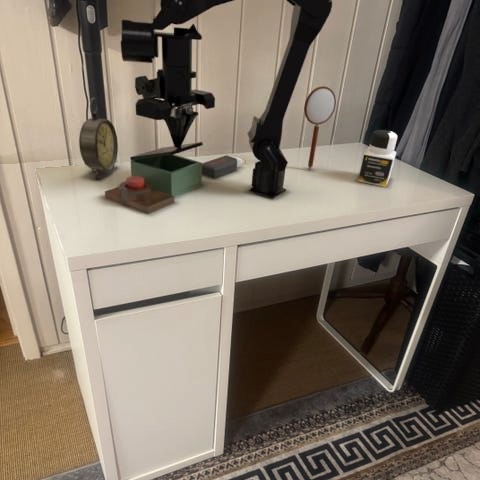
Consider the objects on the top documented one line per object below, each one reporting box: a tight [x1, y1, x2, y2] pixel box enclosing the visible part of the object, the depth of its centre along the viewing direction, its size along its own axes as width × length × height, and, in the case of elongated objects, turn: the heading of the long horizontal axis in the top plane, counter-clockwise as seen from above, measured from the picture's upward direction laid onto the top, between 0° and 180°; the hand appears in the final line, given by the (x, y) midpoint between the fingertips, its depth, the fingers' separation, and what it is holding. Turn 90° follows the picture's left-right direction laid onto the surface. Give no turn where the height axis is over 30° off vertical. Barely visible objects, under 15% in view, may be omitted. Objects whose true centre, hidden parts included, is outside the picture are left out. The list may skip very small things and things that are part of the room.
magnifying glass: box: [303, 86, 337, 171], centre depth 116 cm, size 9×2×20 cm, turn 113°
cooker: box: [130, 154, 203, 198], centre depth 104 cm, size 12×11×5 cm
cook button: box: [125, 175, 145, 190], centre depth 94 cm, size 4×4×2 cm
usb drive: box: [202, 154, 242, 180], centre depth 115 cm, size 5×12×3 cm, turn 144°
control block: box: [104, 180, 175, 215], centre depth 96 cm, size 12×8×4 cm
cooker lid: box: [130, 141, 204, 161], centre depth 101 cm, size 12×11×1 cm
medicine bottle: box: [357, 129, 398, 188], centre depth 116 cm, size 7×7×12 cm
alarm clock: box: [78, 97, 119, 180], centre depth 104 cm, size 11×5×16 cm, turn 168°
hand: (177, 147), depth 99 cm, fingers closed, pressing on cooker lid
